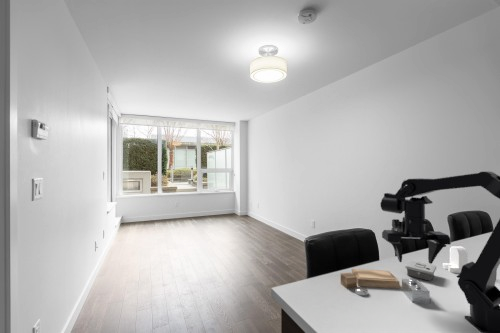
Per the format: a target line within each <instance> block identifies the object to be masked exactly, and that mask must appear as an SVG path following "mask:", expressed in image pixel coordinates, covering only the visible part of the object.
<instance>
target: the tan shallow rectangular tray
mask: <svg viewBox="0 0 500 333" xmlns="http://www.w3.org/2000/svg"><path fill="white" fill-rule="evenodd" d="M351 273H352V274H353V275H354V276H356V277H357V287H373V288H387V289H388V288H389V289H400V280H399V279H398V278H397V277H396V276H395V275H394V274H393V273H392V272H391V271H389V270H375V269H361V268H360V269H359V268H352V269H351Z"/></svg>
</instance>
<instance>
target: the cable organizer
mask: <svg viewBox="0 0 500 333" xmlns="http://www.w3.org/2000/svg"><path fill="white" fill-rule="evenodd" d="M468 257H469V255H468V251H467V249H466V248H465V247H464V246H459V245H458V246H453V245H452V246H450V248H449V262H448V263H447V262H443V263H442V269H444V270H447V272H449V273H452V274H460V273H461V269H462V267H463V265H465V264H467V263H469V260H468V259H469V258H468Z"/></svg>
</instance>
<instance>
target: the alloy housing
mask: <svg viewBox="0 0 500 333" xmlns="http://www.w3.org/2000/svg"><path fill="white" fill-rule="evenodd" d="M401 291H402V293H404V296H406V297H407V299H408V300H410V302H411V303H414V304H424V305H425V304H426V305H430V303H431V302H430V299H431V298H430V295H431V294H430V290H429V289H428V288H427V287H426V286H425V285H424V284H422V282H420V281H419V280H418V279H415V278H401Z"/></svg>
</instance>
